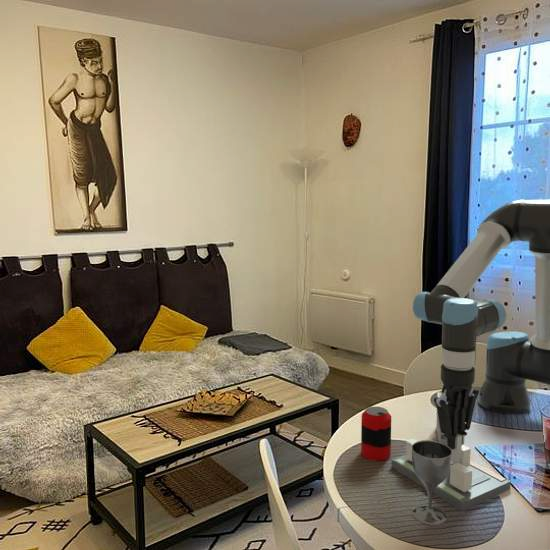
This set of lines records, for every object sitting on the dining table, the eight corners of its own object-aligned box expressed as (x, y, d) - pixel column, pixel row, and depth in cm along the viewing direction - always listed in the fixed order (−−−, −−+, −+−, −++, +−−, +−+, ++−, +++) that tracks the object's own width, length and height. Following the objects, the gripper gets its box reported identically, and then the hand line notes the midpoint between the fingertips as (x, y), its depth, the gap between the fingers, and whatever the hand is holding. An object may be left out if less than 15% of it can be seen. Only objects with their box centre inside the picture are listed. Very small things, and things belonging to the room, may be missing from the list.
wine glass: (405, 505, 121) (406, 441, 118) (440, 502, 121) (442, 439, 119) (417, 527, 113) (419, 459, 110) (455, 524, 114) (457, 457, 111)
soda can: (373, 464, 138) (373, 419, 136) (355, 451, 145) (355, 408, 143) (396, 457, 142) (397, 413, 140) (378, 445, 148) (379, 403, 146)
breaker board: (437, 450, 145) (437, 442, 144) (510, 489, 126) (510, 480, 126) (391, 466, 137) (391, 458, 136) (461, 511, 118) (462, 501, 118)
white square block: (456, 458, 135) (457, 441, 134) (469, 465, 132) (470, 448, 131) (449, 461, 134) (450, 444, 133) (462, 468, 131) (463, 451, 130)
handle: (412, 455, 137) (413, 438, 137) (424, 462, 134) (425, 445, 133) (405, 458, 136) (406, 441, 135) (417, 464, 133) (418, 447, 132)
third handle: (457, 480, 125) (457, 462, 125) (471, 489, 122) (472, 470, 121) (449, 483, 124) (450, 465, 123) (463, 492, 121) (464, 473, 120)
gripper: (464, 356, 134) (460, 446, 138) (425, 366, 128) (422, 460, 132) (490, 364, 128) (485, 458, 132) (450, 375, 121) (447, 474, 125)
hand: (454, 459), depth 132 cm, fingers closed
